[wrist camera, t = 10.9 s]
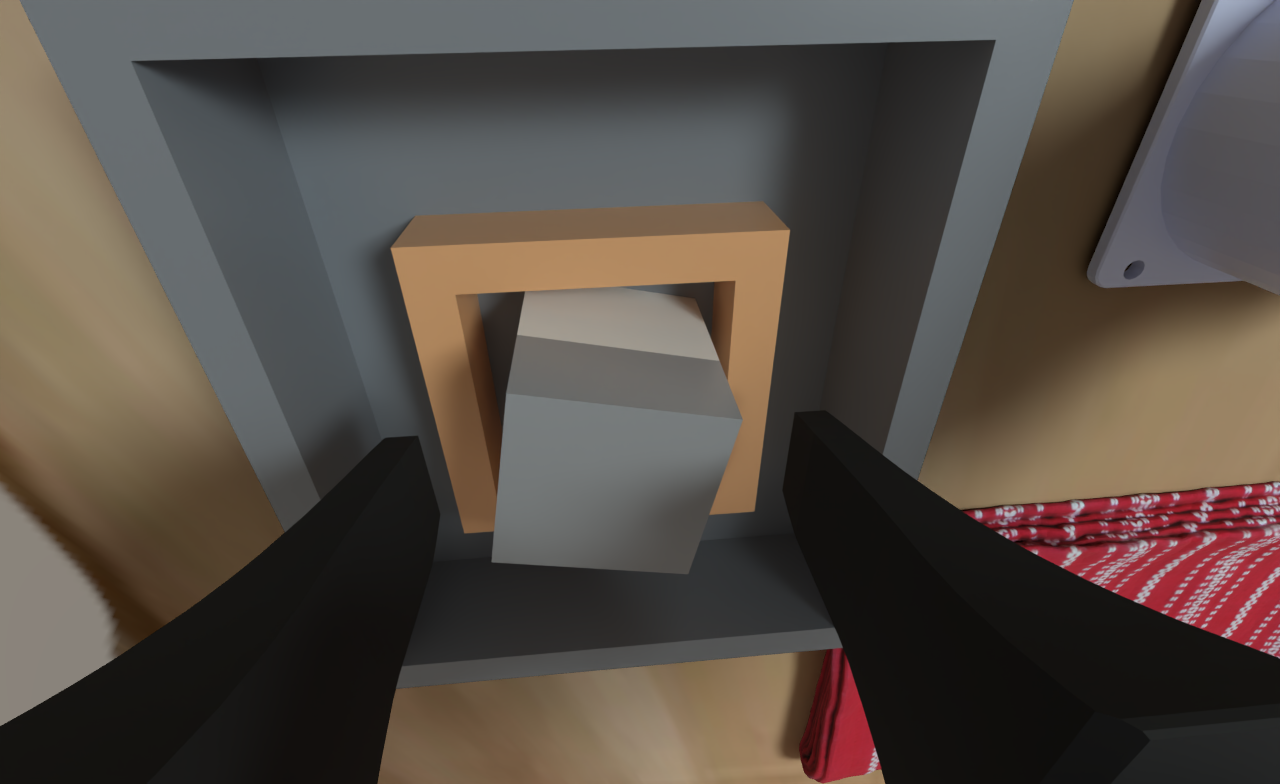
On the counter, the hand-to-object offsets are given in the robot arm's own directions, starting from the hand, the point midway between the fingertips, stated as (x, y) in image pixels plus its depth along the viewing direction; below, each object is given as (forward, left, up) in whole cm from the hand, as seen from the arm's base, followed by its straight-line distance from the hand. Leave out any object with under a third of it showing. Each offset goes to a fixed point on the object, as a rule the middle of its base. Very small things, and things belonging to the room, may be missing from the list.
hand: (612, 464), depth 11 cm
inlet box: (0, 0, -5) cm, 5 cm away
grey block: (0, 0, -4) cm, 4 cm away
